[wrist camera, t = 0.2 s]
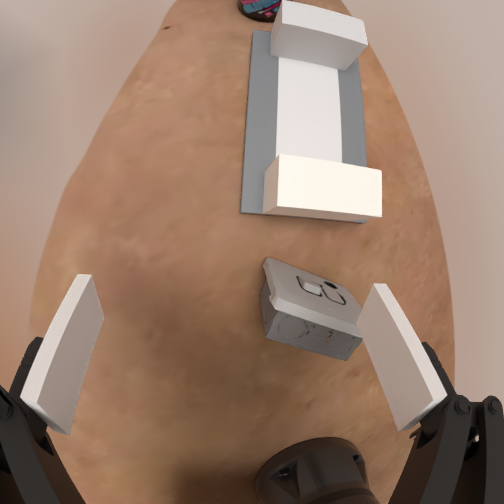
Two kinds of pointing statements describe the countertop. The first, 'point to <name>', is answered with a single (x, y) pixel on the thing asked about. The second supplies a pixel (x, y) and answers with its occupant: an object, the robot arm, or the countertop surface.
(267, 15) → the supplement container
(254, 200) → the rail plate
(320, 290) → the electrical switch
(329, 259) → the countertop surface
